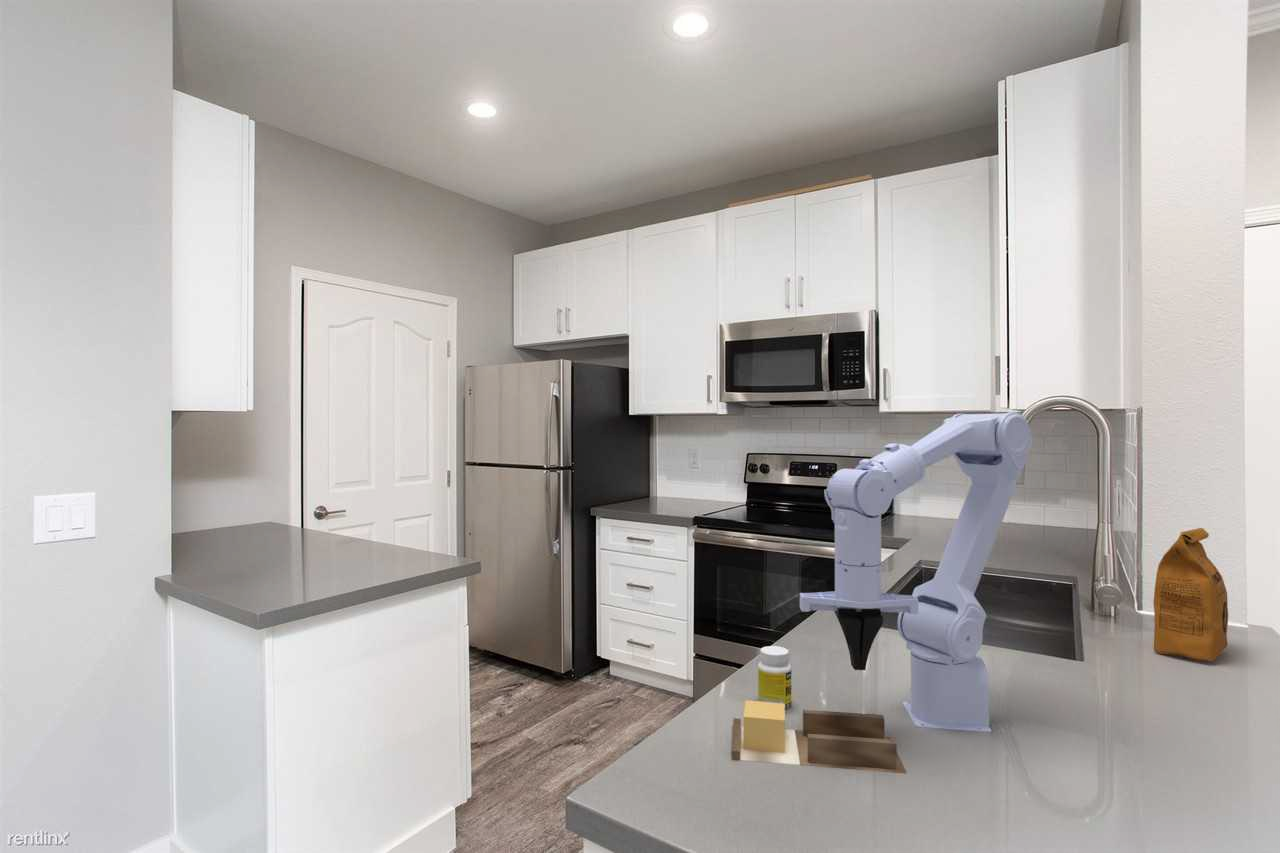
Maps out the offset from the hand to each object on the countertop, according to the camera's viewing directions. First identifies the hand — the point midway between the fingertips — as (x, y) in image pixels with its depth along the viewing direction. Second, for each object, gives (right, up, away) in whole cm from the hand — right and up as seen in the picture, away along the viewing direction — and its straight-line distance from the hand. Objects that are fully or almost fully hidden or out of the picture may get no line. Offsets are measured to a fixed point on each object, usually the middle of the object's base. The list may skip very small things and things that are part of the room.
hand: (858, 667), depth 85 cm
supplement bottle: (-9, -10, +10) cm, 16 cm away
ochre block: (-12, -9, -1) cm, 15 cm away
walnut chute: (-7, -9, -3) cm, 12 cm away
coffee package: (+70, -10, +32) cm, 78 cm away
